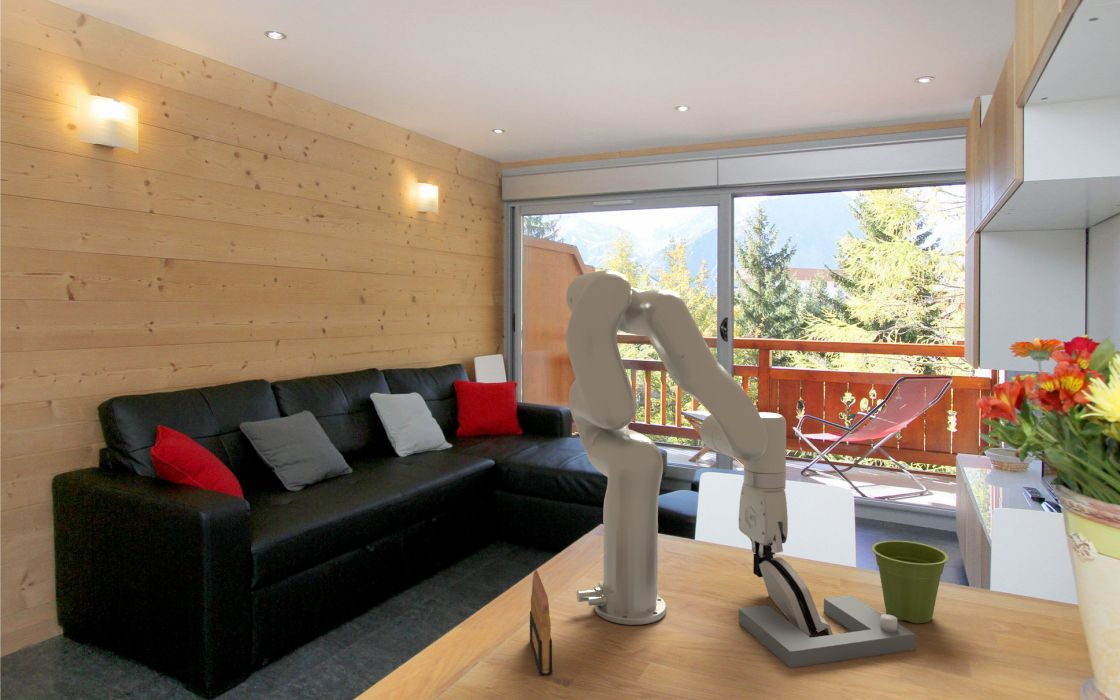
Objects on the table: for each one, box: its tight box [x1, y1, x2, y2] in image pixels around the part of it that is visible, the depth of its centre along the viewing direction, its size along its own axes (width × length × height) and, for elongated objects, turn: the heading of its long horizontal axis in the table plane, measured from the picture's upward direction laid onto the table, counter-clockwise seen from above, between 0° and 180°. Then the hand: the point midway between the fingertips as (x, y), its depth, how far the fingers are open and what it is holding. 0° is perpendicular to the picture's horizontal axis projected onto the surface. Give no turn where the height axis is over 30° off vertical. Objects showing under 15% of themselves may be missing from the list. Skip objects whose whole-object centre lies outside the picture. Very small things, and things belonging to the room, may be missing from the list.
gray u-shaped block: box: [738, 594, 916, 669], centre depth 110 cm, size 22×15×4 cm
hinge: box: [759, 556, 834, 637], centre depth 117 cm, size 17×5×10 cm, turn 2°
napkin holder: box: [529, 569, 553, 676], centre depth 103 cm, size 11×2×12 cm, turn 10°
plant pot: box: [871, 540, 949, 624], centre depth 117 cm, size 12×12×11 cm
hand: (763, 574), depth 127 cm, fingers closed
